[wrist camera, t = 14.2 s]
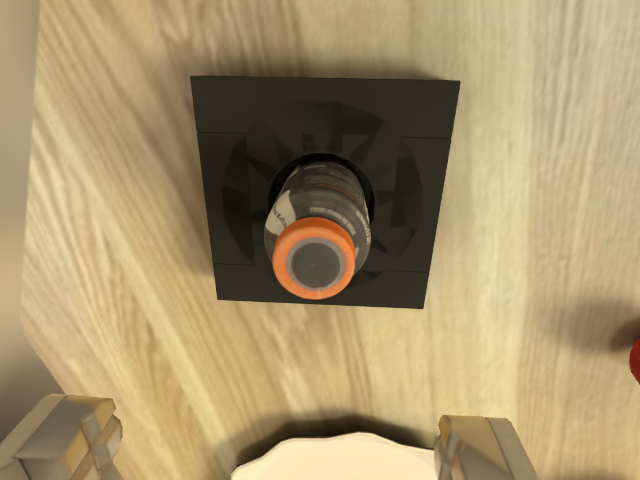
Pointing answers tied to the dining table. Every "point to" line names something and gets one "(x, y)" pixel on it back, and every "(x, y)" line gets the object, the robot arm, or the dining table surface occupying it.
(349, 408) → the dining table surface
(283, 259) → the pill bottle
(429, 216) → the socket pad
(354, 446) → the plate
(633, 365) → the onion
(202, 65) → the dining table surface
